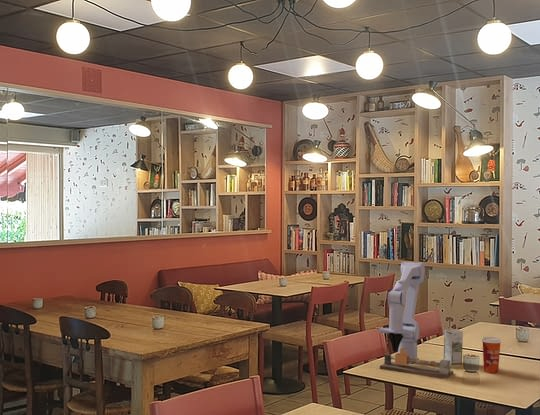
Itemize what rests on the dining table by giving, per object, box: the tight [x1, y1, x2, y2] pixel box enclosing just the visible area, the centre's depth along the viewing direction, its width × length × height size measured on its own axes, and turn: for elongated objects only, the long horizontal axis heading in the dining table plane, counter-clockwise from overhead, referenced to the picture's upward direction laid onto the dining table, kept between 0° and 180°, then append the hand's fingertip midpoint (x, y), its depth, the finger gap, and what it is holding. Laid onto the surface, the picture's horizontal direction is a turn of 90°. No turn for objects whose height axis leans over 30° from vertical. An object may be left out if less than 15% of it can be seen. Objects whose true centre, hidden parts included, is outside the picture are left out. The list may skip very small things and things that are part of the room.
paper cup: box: [481, 336, 502, 374], centre depth 270 cm, size 8×8×14 cm
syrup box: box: [443, 328, 464, 365], centre depth 286 cm, size 6×6×14 cm
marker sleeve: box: [394, 348, 411, 365], centre depth 272 cm, size 4×5×6 cm
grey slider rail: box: [379, 353, 454, 380], centre depth 269 cm, size 10×28×6 cm, turn 58°
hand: (395, 351), depth 274 cm, fingers closed
